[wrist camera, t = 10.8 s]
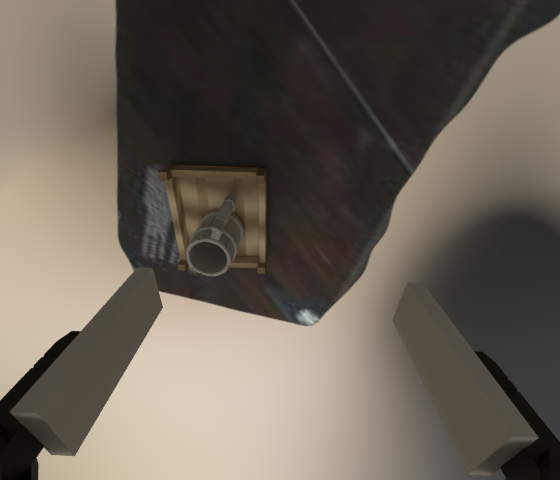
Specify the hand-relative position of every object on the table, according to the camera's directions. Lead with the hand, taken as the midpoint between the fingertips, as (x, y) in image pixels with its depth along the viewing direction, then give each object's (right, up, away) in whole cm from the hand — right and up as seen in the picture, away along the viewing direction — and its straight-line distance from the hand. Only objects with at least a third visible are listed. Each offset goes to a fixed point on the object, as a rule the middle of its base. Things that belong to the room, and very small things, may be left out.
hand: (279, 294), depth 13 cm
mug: (-9, +7, +29) cm, 31 cm away
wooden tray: (-10, +7, +30) cm, 32 cm away
